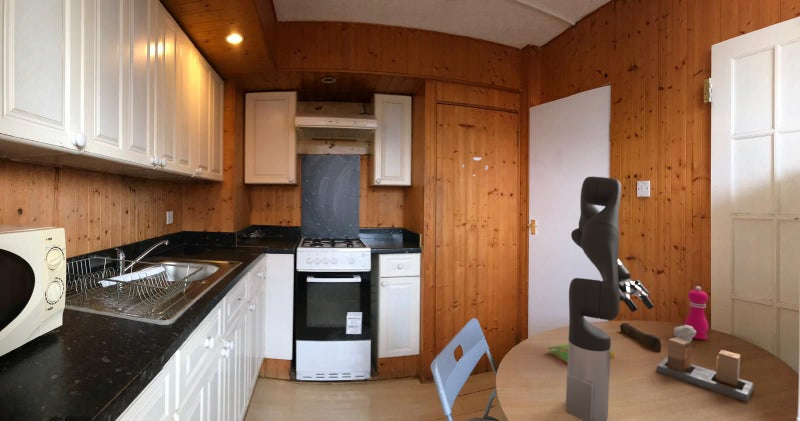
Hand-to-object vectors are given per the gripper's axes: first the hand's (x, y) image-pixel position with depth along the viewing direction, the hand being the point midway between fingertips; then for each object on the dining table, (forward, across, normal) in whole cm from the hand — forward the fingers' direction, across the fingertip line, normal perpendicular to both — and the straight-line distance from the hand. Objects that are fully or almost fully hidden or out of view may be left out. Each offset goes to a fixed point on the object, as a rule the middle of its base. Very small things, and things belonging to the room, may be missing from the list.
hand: (643, 309), depth 117 cm
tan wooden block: (+19, 0, +4) cm, 20 cm away
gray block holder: (+23, +1, 0) cm, 23 cm away
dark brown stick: (+6, +14, +18) cm, 24 cm away
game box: (+6, -19, +18) cm, 27 cm away
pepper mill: (+9, +39, +15) cm, 43 cm away
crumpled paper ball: (+10, +28, +13) cm, 32 cm away
